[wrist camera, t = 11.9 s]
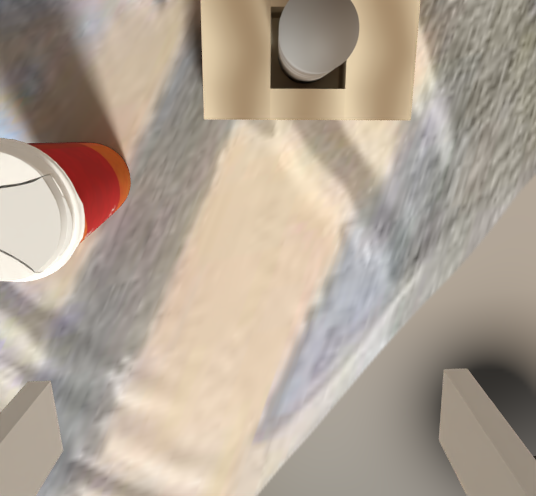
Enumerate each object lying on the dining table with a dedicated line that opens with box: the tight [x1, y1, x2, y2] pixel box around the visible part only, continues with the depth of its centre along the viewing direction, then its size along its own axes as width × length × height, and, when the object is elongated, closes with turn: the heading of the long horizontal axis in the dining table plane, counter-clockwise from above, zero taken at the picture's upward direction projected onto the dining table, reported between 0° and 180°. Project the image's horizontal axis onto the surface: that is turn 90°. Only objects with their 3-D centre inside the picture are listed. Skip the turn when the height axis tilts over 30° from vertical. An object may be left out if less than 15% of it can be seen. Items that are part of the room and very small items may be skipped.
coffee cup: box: [0, 138, 131, 282], centre depth 33 cm, size 8×8×15 cm
